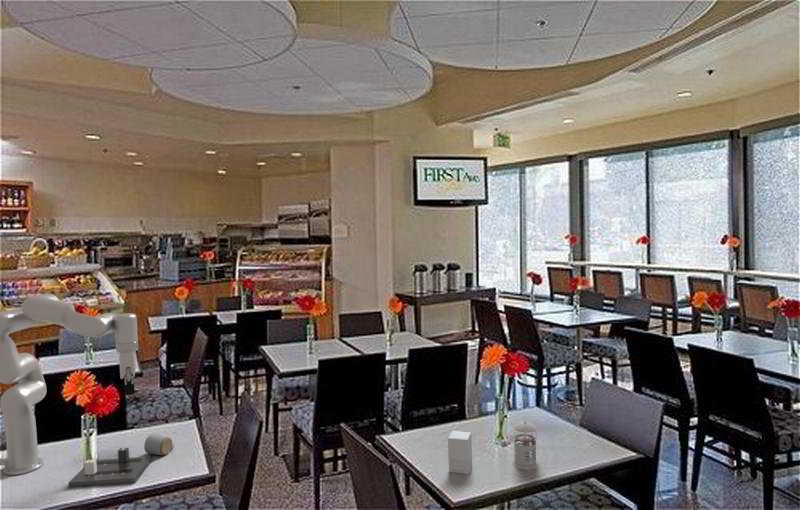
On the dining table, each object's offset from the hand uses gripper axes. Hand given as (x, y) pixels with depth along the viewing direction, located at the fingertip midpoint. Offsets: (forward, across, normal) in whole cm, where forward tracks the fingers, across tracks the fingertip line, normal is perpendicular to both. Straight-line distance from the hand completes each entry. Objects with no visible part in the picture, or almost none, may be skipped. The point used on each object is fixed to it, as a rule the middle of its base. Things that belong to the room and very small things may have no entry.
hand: (129, 391), depth 212 cm
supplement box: (+28, +65, +106) cm, 127 cm away
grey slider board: (+28, +6, -7) cm, 30 cm away
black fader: (+26, +1, -3) cm, 26 cm away
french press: (+28, +72, +130) cm, 151 cm away
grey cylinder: (+28, -6, +10) cm, 31 cm away
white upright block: (+26, +7, -14) cm, 30 cm away
